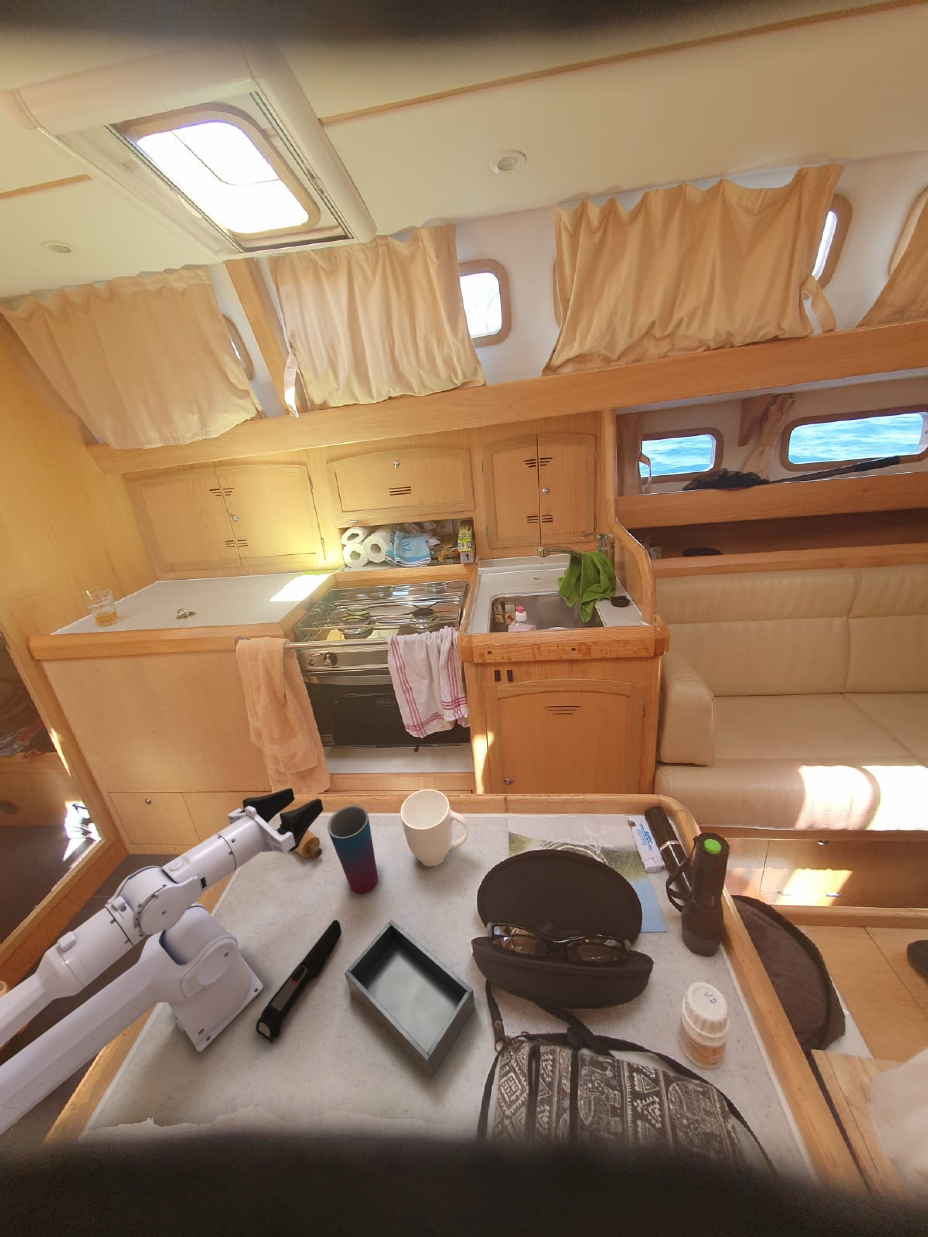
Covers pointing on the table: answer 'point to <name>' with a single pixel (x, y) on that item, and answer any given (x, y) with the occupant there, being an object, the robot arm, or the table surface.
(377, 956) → the tin
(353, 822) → the cup
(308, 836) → the rolling pin
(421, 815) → the mug
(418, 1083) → the table surface
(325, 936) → the electric trimmer
